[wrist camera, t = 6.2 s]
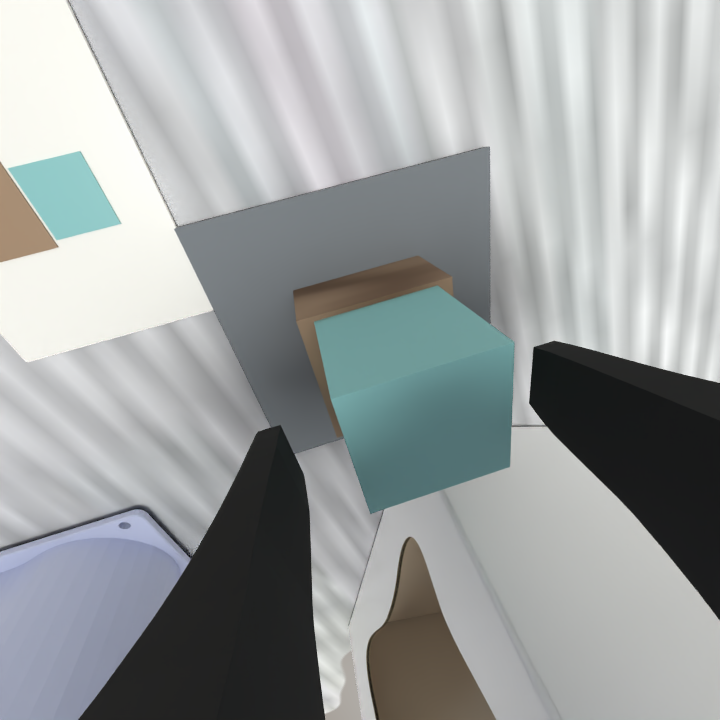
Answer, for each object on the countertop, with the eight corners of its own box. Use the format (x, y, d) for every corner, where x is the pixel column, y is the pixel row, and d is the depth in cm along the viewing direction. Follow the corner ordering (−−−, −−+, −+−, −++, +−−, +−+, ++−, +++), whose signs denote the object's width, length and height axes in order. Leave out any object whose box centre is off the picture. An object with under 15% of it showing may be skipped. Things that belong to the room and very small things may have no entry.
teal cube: (345, 417, 12) (370, 513, 9) (313, 321, 10) (330, 399, 7) (447, 385, 12) (509, 466, 9) (437, 285, 10) (514, 342, 7)
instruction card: (29, 360, 12) (25, 363, 12) (-266, 31, 7) (-279, 27, 7) (216, 308, 13) (215, 310, 12) (50, -34, 8) (45, -39, 8)
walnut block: (327, 392, 15) (337, 437, 13) (292, 290, 12) (296, 321, 10) (430, 361, 15) (460, 399, 13) (418, 255, 13) (452, 276, 10)
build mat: (285, 450, 17) (285, 456, 16) (177, 227, 11) (173, 228, 11) (486, 388, 18) (490, 392, 17) (483, 147, 12) (489, 146, 11)
